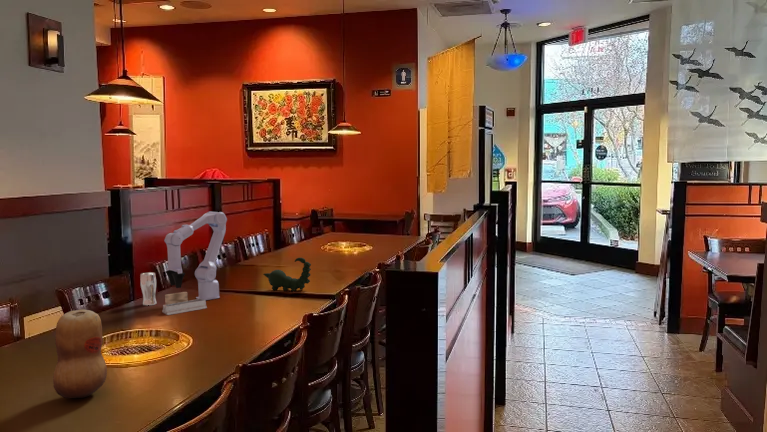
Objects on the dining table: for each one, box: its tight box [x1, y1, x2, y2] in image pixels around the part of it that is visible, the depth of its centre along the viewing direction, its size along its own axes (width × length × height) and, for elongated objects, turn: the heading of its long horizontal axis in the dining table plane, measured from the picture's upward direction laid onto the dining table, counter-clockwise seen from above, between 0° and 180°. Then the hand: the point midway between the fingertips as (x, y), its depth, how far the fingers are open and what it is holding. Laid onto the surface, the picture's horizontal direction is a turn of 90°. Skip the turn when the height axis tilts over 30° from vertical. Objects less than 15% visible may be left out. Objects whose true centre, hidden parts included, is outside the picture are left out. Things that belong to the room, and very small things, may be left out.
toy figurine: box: [262, 257, 312, 292], centre depth 288 cm, size 9×19×25 cm
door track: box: [161, 298, 208, 316], centre depth 252 cm, size 18×7×4 cm, turn 129°
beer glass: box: [139, 271, 157, 307], centre depth 263 cm, size 7×7×15 cm
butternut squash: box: [52, 309, 108, 399], centre depth 157 cm, size 14×13×25 cm
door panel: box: [164, 291, 189, 305], centre depth 260 cm, size 10×2×6 cm, turn 129°
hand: (175, 286), depth 260 cm, fingers open, 7 cm apart
